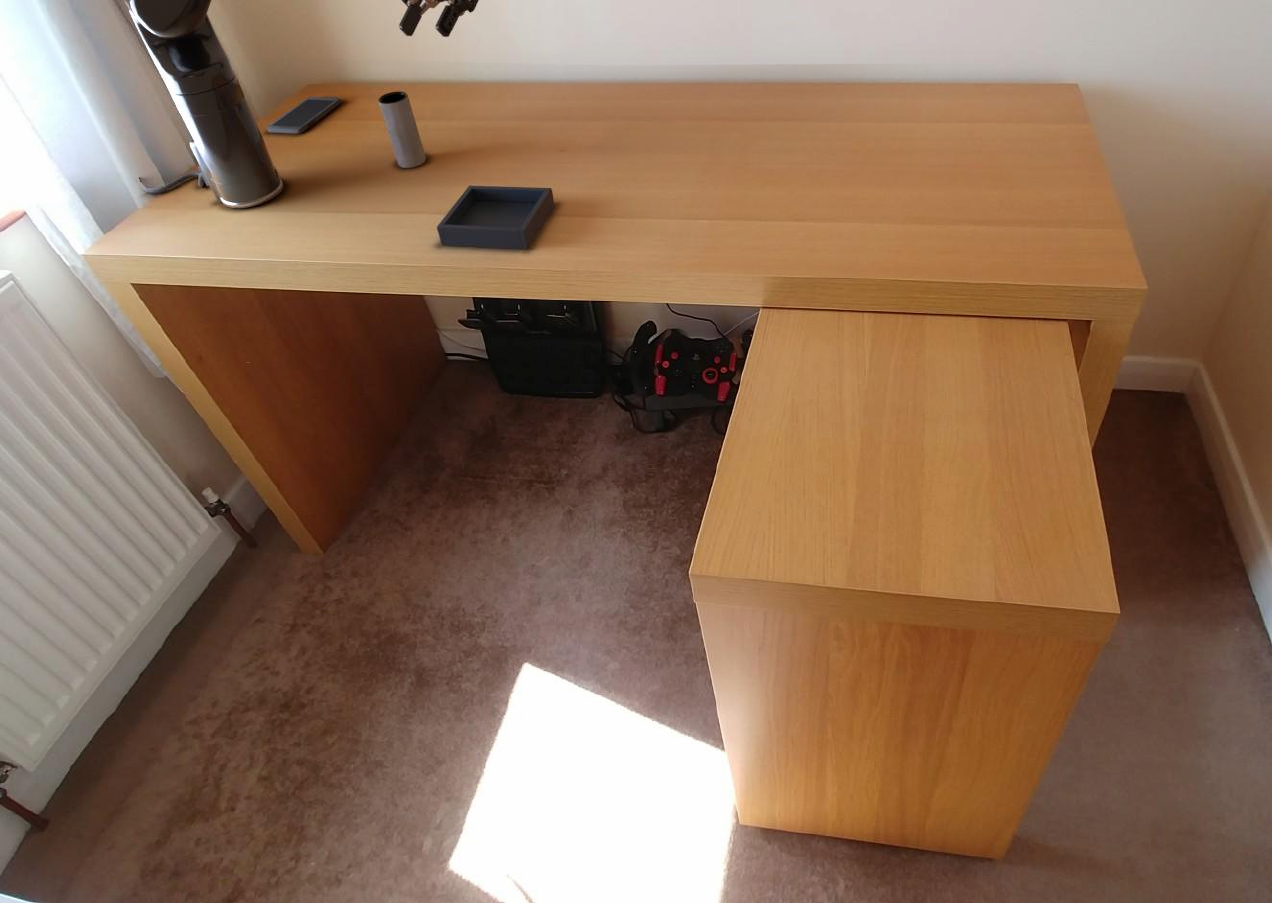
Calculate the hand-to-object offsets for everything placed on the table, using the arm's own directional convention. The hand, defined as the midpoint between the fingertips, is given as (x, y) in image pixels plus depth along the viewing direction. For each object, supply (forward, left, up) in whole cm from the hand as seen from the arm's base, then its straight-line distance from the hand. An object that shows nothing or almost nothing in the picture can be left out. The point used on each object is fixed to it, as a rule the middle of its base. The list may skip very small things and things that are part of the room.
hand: (422, 32), depth 121 cm
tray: (+17, -22, -18) cm, 33 cm away
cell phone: (-34, +12, -18) cm, 41 cm away
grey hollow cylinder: (-5, -4, -18) cm, 19 cm away
